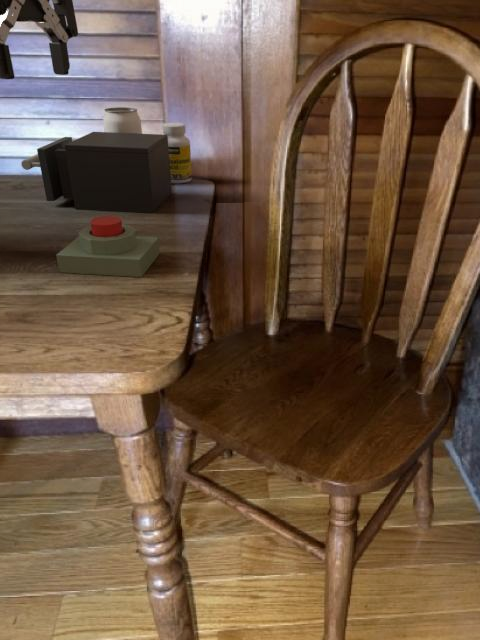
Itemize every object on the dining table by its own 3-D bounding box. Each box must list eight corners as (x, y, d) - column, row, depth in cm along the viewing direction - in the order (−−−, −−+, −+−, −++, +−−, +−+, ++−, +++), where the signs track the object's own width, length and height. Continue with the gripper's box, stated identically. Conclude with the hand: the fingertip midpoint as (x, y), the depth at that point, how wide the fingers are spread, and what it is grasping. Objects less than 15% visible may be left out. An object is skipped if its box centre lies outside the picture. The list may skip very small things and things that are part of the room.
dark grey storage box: (75, 209, 90) (64, 144, 85) (101, 190, 99) (92, 131, 94) (153, 213, 89) (147, 148, 84) (172, 193, 99) (167, 134, 94)
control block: (59, 272, 68) (53, 240, 66) (84, 249, 75) (79, 219, 72) (141, 277, 67) (137, 244, 65) (159, 253, 74) (157, 223, 72)
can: (121, 185, 102) (112, 113, 96) (104, 178, 106) (95, 108, 100) (153, 180, 106) (146, 110, 100) (135, 174, 110) (128, 106, 104)
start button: (87, 238, 68) (85, 224, 67) (98, 229, 71) (96, 215, 70) (117, 240, 67) (115, 225, 66) (127, 230, 70) (125, 216, 69)
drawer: (21, 199, 90) (10, 147, 86) (49, 183, 99) (40, 135, 95) (117, 204, 89) (111, 152, 85) (137, 187, 98) (132, 139, 94)
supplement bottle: (166, 185, 103) (162, 127, 98) (159, 178, 108) (155, 122, 102) (195, 183, 105) (192, 126, 100) (187, 176, 110) (184, 121, 104)
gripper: (36, -72, 72) (59, 71, 81) (-73, -89, 62) (-33, 78, 70) (78, -75, 69) (97, 75, 78) (-30, -93, 59) (6, 82, 67)
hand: (35, 76), depth 74 cm, fingers open, 8 cm apart
